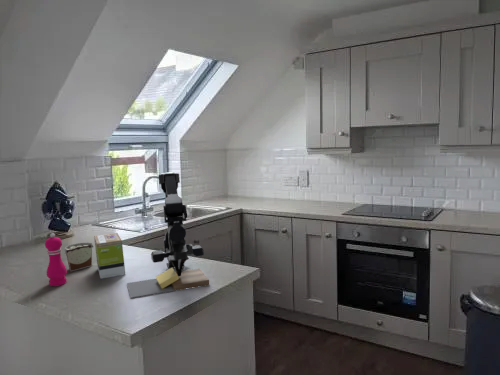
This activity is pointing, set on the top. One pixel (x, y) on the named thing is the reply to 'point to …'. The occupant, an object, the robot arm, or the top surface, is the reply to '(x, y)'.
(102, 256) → the tea box
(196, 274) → the cutting block
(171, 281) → the butter block
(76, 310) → the top surface
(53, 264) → the pepper mill
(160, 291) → the mat
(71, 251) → the food container
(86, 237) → the top surface
